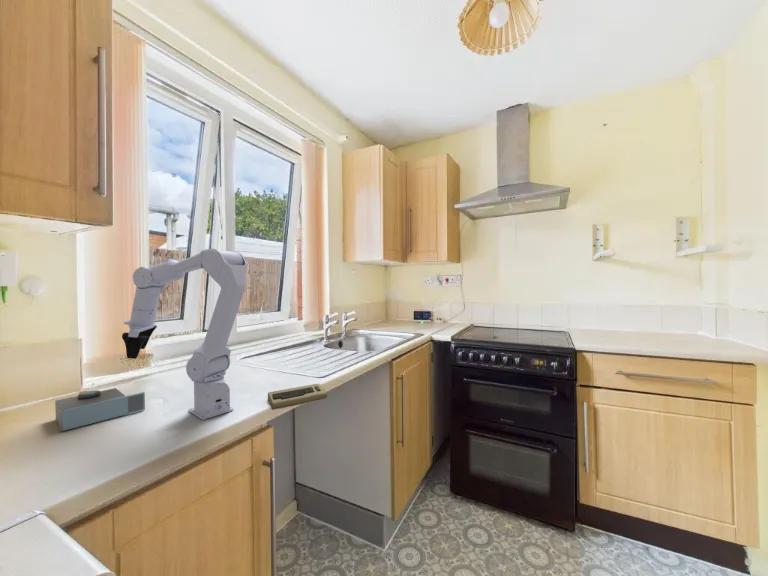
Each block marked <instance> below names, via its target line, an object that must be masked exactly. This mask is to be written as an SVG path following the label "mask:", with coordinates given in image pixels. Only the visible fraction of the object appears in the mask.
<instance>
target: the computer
mask: <svg viewBox="0 0 768 576" xmlns="http://www.w3.org/2000/svg"><path fill="white" fill-rule="evenodd" d="M327 398H328V392H327V391H326V389H325V388H324V387H323V386H322V385H321V384H320V383H315V384H314V383H313V384H308V385H303V386H297V387H290V388H284V389H279V390H275V391H268V393H267V402H268V403H269V405H270V407H271V408H272V409H273V410H274V409H275V410H276V409H279V408H284V407H289V406H290V407H291V406H295V405H299V404H304V403H309V402H314V401H320V400H324V399H327Z"/></svg>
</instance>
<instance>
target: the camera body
mask: <svg viewBox="0 0 768 576" xmlns="http://www.w3.org/2000/svg"><path fill="white" fill-rule="evenodd" d="M123 396H126V395H125V394H123V393H122V392H121V391H120V390H119V389H117V387H115V388H109V389H105V390H89V391H85V392H81V393H78V395H76V396H72V397H71V396H70V397H65V398H61V399H56V400H55V402H54V406H55V407H54V408H55V422H56V423H57V425H58V426H59V411H60V410H65V409H70V408H74V407H78V406H83V405H87V404H92V403H96V402H101V401H105V400H110V399H114V398H119V397H123Z"/></svg>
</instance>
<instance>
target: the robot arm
mask: <svg viewBox="0 0 768 576" xmlns="http://www.w3.org/2000/svg"><path fill="white" fill-rule="evenodd" d="M247 268H248V262H247V260H246V259H245V257H244V255H243V254H242V253H241V252H239V251H229V250H223V249H218V248H217V249H216V248H213V247H212V248H208V249H206V250H201V251H200V252H199V253H197V254H195V255H192V256H190V257H187V258H184V259H182V260H180V261H179V260H177V259H173V258H166V259H164V262H161V263H155V264H152V266H150V267H145V266H139V267H138V268H136V269H135V270H134V271H133V274H132V280H133V284H134V285H135V287H136V288H135V292H134V298H133V304H132V308H131V314H130V319H126V320H124V322H123V323H124V324H123V325H128V328H129V331H128V332H123V333H121V334H122V335H121V339H122V340H123V342H124V345H125V352H126V358H127V359H133V360H134V359H137V358H138V356H139V354H140V352H141V350H145V348H146V347H147V345H148V342H149V341H150V338H151V337H152V335H153V333H154V332H155V330H156V329H157V328H158V325H156V324H155V321H156V317H157V316H156V315H157V313H158V307H159V306H158V305H159V301H160V297H161V294H162V293H163V292H164V289H165V287H166V286H167V285H168V284H170V283H172V282H175V281H179V280H182V279H184V277H185V276H186V273H190V272H194V271H197V270H201V269H203V270H204V271H205V273H207V274H208V275H209V277H211V278H212V280H214V282H215V283H216V284H218V286H219V287H220V291H219V294H218V297H217V300H216V304H215V307H214V309H213V314H212V315H211V318H210V322H209V325H208V327H207V332H206V334H205V336H204V341H203V342H202V343H201V345H199V346H198V347H197V348H196V349H195V350H194V351H193V353H192V356H191V358H190V359H188V360H187V362H186V366H185V371H186V375H187V377H189V379H190V380H191V382H193V397H194V398H193V401H194V402H193V403H194V404H193V407H191V408H189V409H188V412H189V413H191V414H192V415H194V416H195V417H197V418H199V419H200V420H208V419H210V418H213V417H216V416H220V415H222V414H226V413H229V412H232V411H234V408H233V407H231V402H230V401H231V400H230V399H231V397H230V395H231V394H230V393H231V392H230V387H229V385H228V384H227V383H226V382H225V375H226V373H227V371H228V369H229V368H230V365H231V359H230V358H231V353H232V350H231V349H230V348H229V347H228V346H227V344H228V342H229V338H230V336H231V332H232V329H233V326H234V323H235V320H236V318H237V314H238V311H239V308H240V304H241V302H242V299H243V296H244V293H245V289H246V272H247V271H246V270H247Z"/></svg>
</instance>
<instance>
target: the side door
mask: <svg viewBox="0 0 768 576" xmlns="http://www.w3.org/2000/svg"><path fill="white" fill-rule="evenodd" d="M145 399H146V395H145V391H142V392H138V393H132V394H128V395H125V396H123V397H119V398H114V399H110V400H105V401H101V402H96V403H92V404H87V405H83V406H78V407H74V408H70V409H65V410H60V411H59V425H58V432H59V433H60V432H64V431H68V430H71V429H76V428H80V427H83V426H87V425H90V424H95V423H98V422H102V421H107V420H109V419H114V418H118V417H120V416H121V417H122V416H125V415H129V414H133V413H137V412H140V411H145V409H146V400H145Z"/></svg>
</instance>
